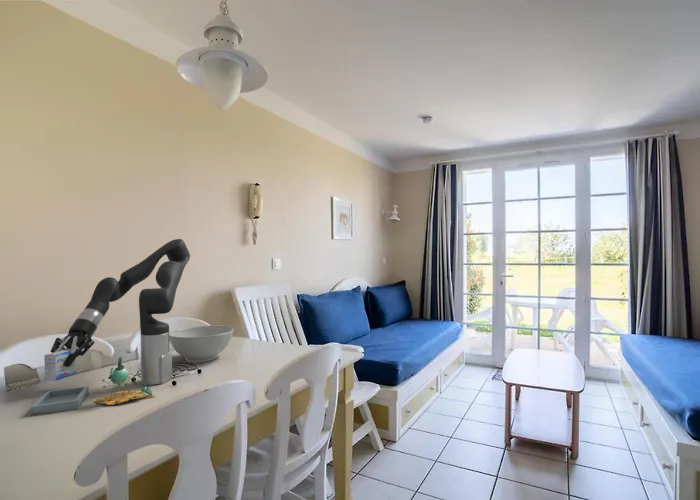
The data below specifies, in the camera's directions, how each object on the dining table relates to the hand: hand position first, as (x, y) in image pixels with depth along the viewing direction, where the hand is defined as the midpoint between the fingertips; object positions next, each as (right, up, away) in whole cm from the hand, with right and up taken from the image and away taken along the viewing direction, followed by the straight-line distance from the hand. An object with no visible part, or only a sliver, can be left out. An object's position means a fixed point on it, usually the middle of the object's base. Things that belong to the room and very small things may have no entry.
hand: (58, 365), depth 129 cm
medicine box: (0, -4, +1) cm, 4 cm away
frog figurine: (+28, -8, -10) cm, 31 cm away
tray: (+11, -8, -12) cm, 18 cm away
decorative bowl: (+34, -9, +38) cm, 51 cm away
